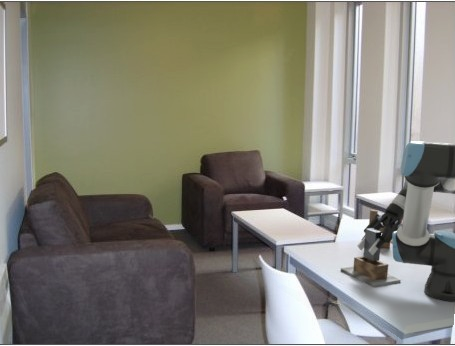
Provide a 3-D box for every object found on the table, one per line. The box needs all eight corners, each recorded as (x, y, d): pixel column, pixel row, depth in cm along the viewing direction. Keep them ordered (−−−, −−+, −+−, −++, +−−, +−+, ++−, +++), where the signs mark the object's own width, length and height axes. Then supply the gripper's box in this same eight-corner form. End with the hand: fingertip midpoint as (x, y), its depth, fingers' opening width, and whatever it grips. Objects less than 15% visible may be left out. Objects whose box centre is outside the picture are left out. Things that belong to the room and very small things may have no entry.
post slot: (400, 282, 209) (401, 266, 208) (373, 286, 203) (374, 270, 202) (366, 266, 227) (367, 252, 226) (340, 270, 220) (341, 255, 219)
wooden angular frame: (389, 248, 255) (393, 212, 252) (367, 246, 257) (370, 210, 255) (389, 246, 259) (392, 210, 256) (366, 244, 261) (369, 209, 258)
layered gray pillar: (379, 260, 212) (381, 231, 210) (373, 261, 211) (375, 232, 209) (369, 256, 218) (371, 228, 216) (363, 256, 216) (365, 228, 214)
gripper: (420, 219, 210) (386, 263, 205) (386, 209, 227) (354, 249, 222) (411, 207, 207) (376, 251, 202) (378, 197, 223) (345, 238, 219)
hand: (365, 250), depth 212 cm, fingers closed on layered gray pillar, 6 cm apart
